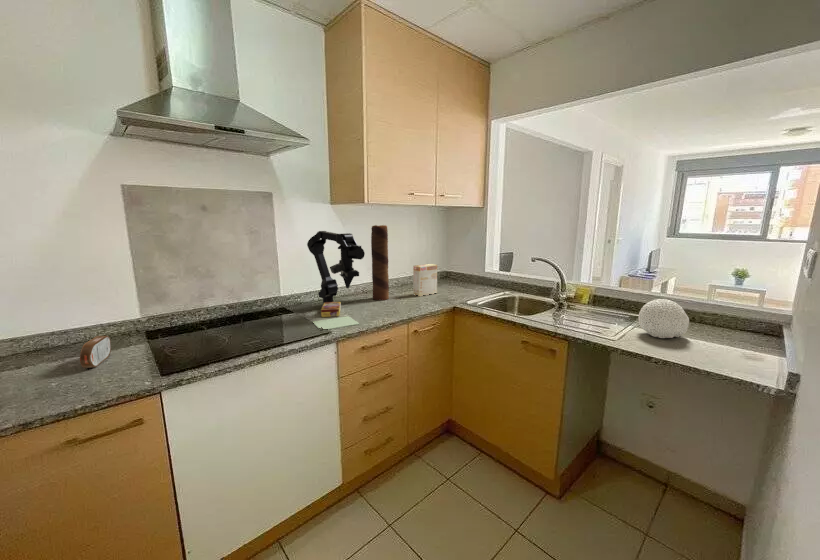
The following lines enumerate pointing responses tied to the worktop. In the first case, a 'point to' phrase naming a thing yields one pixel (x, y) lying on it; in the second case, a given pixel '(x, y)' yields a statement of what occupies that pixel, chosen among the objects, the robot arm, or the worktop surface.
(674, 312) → the white rounded lump
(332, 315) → the candy box
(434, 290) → the coffeecake box
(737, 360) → the worktop surface
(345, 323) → the mat
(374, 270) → the wafer roll
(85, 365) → the tin
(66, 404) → the worktop surface
